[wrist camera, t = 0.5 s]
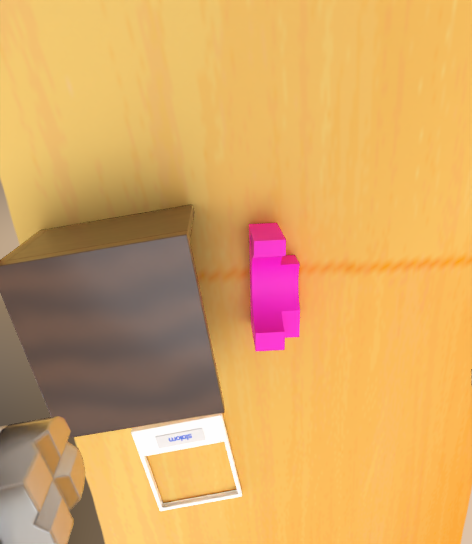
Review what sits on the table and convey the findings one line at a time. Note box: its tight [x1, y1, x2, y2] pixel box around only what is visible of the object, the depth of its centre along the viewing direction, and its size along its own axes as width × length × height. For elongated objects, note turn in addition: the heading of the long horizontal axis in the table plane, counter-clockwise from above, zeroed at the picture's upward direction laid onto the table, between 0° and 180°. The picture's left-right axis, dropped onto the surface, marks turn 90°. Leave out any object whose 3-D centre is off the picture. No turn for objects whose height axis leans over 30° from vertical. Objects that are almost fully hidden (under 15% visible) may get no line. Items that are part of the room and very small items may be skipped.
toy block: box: [249, 223, 300, 351], centre depth 56 cm, size 15×6×8 cm, turn 2°
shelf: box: [0, 205, 224, 438], centre depth 53 cm, size 23×20×14 cm
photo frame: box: [131, 413, 242, 511], centre depth 70 cm, size 15×1×18 cm
